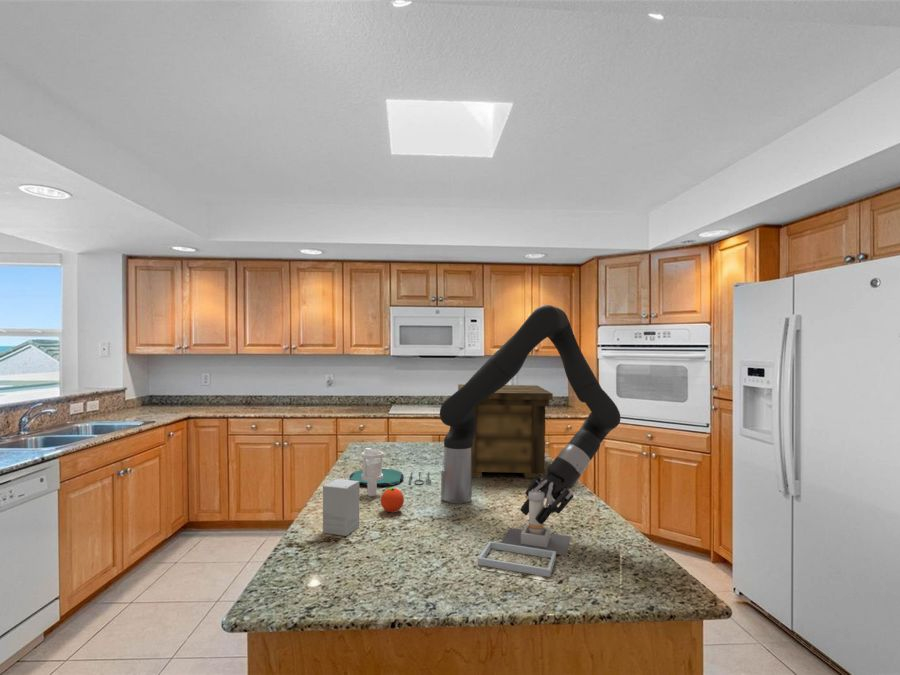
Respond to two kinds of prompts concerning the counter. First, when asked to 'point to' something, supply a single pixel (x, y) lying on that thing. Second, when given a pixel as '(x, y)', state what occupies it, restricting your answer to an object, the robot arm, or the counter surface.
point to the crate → (510, 431)
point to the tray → (516, 566)
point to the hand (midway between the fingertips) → (530, 517)
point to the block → (537, 540)
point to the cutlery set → (386, 477)
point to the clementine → (392, 499)
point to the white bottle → (535, 511)
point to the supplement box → (340, 507)
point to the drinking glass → (372, 470)
